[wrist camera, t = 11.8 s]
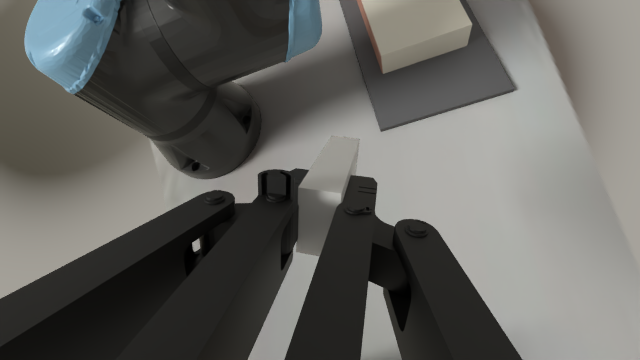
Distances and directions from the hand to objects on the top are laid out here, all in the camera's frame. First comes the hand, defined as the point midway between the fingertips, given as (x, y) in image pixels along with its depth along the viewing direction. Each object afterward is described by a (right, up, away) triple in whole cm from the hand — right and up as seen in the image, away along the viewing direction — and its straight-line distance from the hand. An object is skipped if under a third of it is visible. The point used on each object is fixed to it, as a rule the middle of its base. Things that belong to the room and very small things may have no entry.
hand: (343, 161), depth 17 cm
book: (+12, +15, +22) cm, 30 cm away
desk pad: (+12, +19, +26) cm, 35 cm away
